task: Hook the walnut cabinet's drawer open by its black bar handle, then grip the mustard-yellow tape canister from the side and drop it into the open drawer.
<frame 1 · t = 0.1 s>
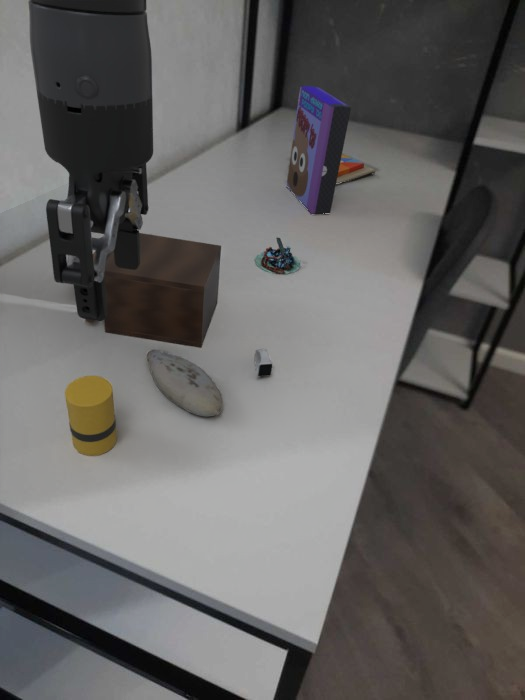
hand: (111, 290, 45), 24 cm above the table, tool pointing down, fingers open, 8 cm apart
dish: (277, 263, 102), on the table
cereal box: (307, 200, 130), on the table
cabinet: (164, 317, 83), on the table
decorative stone: (183, 390, 71), on the table
drawer: (126, 282, 80), point 5 cm above the table, slide at 2.0 cm
wooden puzzle: (332, 171, 149), on the table
smartwatch: (261, 374, 75), on the table
tape canister: (95, 439, 62), on the table
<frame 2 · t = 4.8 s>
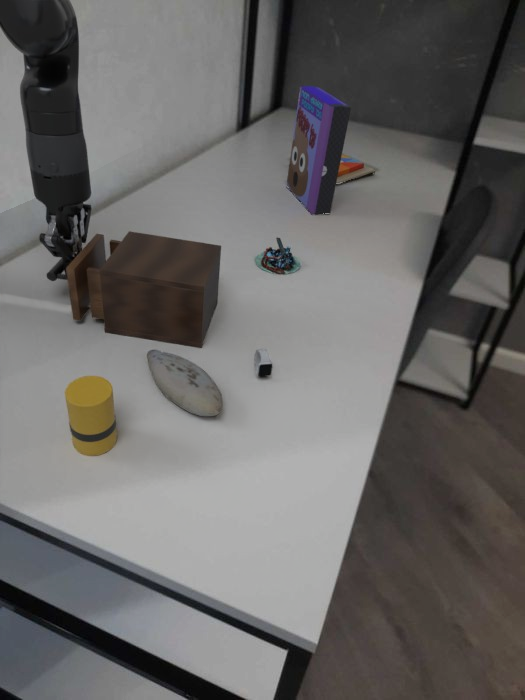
hand: (74, 275, 81), 5 cm above the table, tool pointing down, fingers closed
drawer: (114, 280, 80), point 5 cm above the table, slide at 3.9 cm, touching gripper
everything else where it was.
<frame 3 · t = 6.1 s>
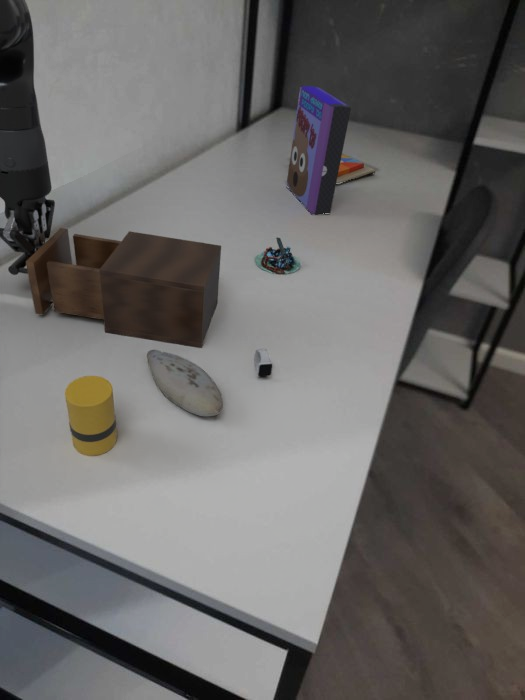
hand: (37, 270, 81), 5 cm above the table, tool pointing down, fingers closed
drawer: (77, 274, 80), point 5 cm above the table, slide at 9.7 cm, touching gripper
everything else where it was.
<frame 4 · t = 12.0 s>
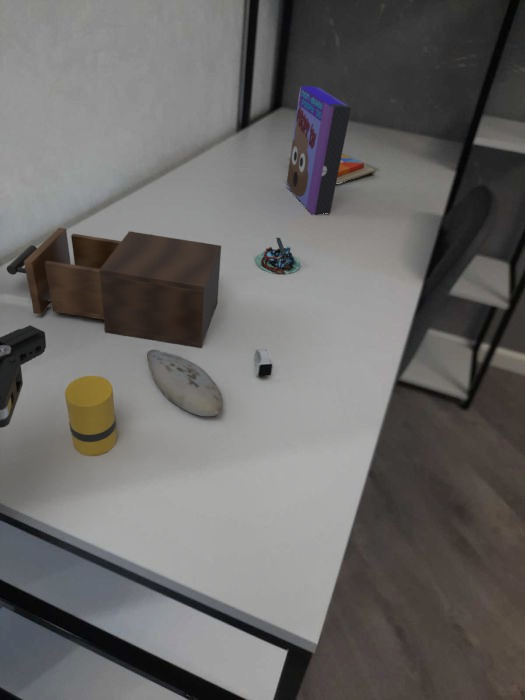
hand: (39, 336, 47), 18 cm above the table, tool horizontal, fingers closed
drawer: (75, 274, 80), point 5 cm above the table, slide at 10.0 cm
everything else where it was.
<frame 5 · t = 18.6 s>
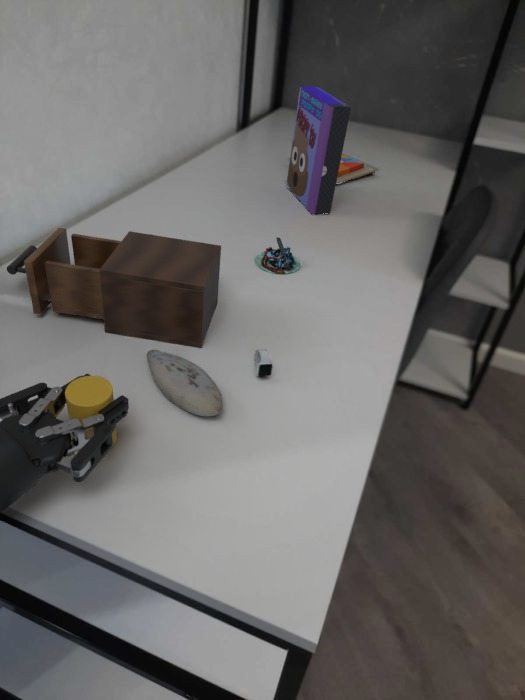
hand: (108, 391, 60), 6 cm above the table, tool horizontal, fingers closed on tape canister, 5 cm apart
tape canister: (95, 439, 62), on the table, touching gripper
everything else where it was.
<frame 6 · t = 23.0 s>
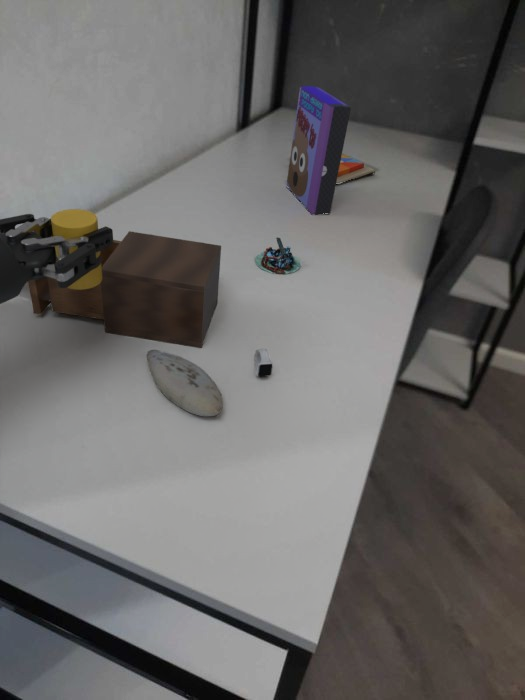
hand: (93, 227, 62), 20 cm above the table, tool horizontal, fingers closed on tape canister, 5 cm apart
tape canister: (81, 279, 64), point 14 cm above the table, touching gripper
everything else where it was.
when the fingers open (11 cm above the table, at t = 27.9 s): tape canister drops 3 cm, resting on drawer.
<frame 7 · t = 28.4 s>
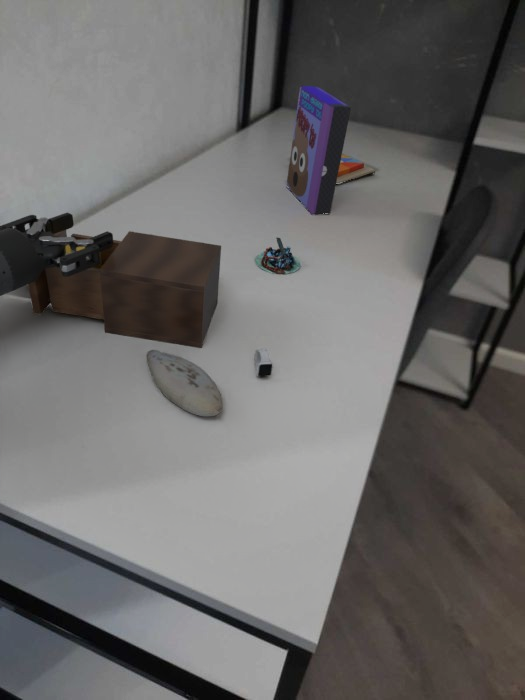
hand: (90, 228, 77), 13 cm above the table, tool horizontal, fingers open, 8 cm apart
drawer: (75, 274, 80), point 5 cm above the table, slide at 10.1 cm, touching tape canister
tape canister: (87, 294, 82), point 2 cm above the table, touching drawer
everything else where it was.
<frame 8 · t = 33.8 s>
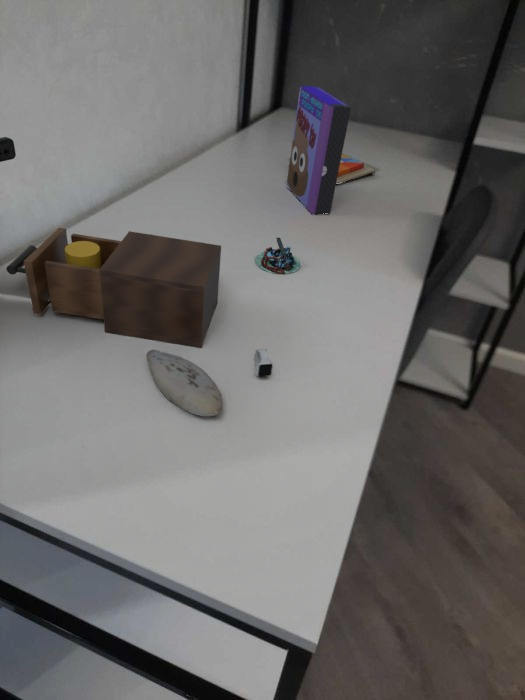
nothing on the table moved.
at the end: drawer slide at 10.1 cm; tape canister inside the target area in the drawer (0.9 cm from its centre), point 2.1 cm above the cabinet's base; the gripper is holding nothing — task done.
